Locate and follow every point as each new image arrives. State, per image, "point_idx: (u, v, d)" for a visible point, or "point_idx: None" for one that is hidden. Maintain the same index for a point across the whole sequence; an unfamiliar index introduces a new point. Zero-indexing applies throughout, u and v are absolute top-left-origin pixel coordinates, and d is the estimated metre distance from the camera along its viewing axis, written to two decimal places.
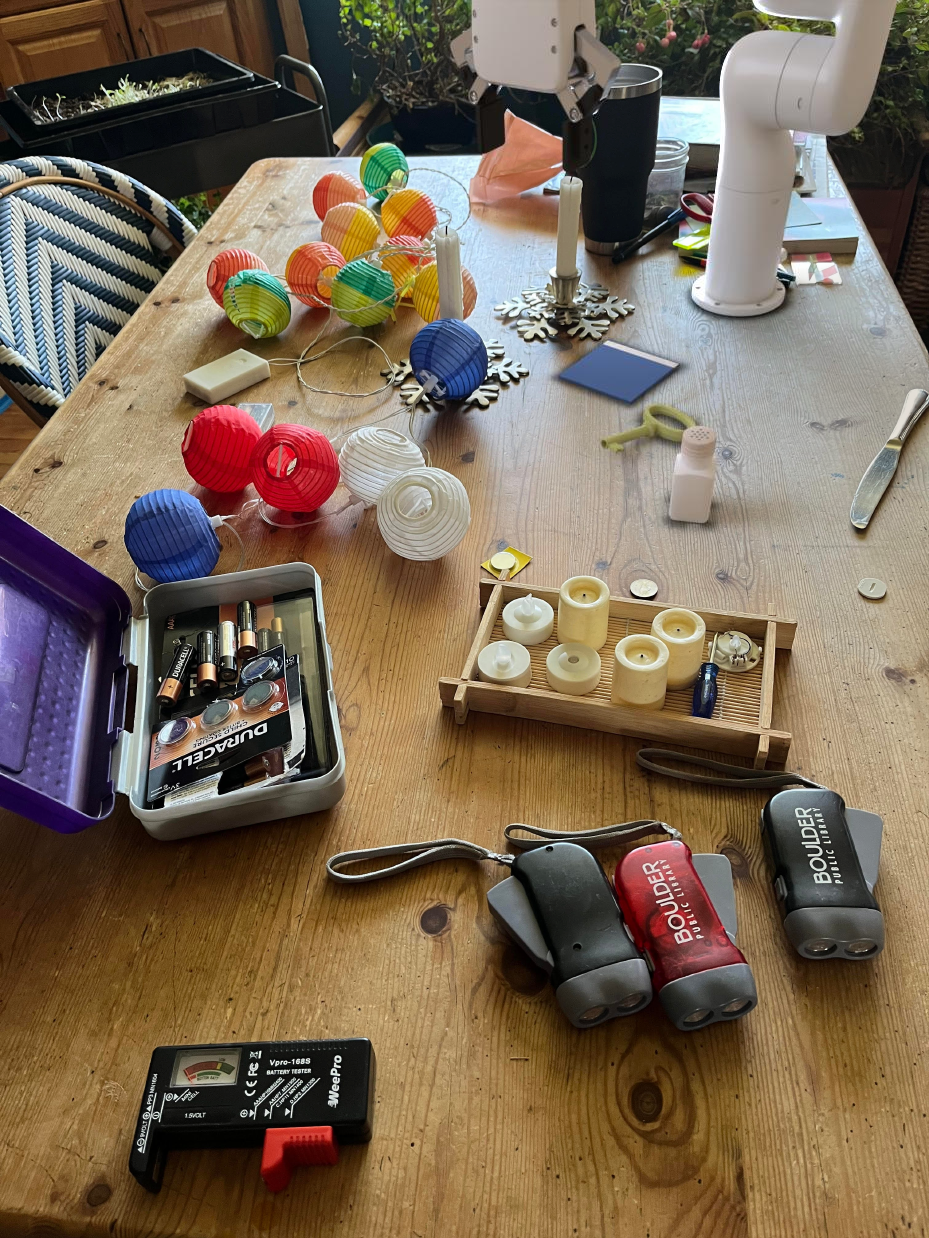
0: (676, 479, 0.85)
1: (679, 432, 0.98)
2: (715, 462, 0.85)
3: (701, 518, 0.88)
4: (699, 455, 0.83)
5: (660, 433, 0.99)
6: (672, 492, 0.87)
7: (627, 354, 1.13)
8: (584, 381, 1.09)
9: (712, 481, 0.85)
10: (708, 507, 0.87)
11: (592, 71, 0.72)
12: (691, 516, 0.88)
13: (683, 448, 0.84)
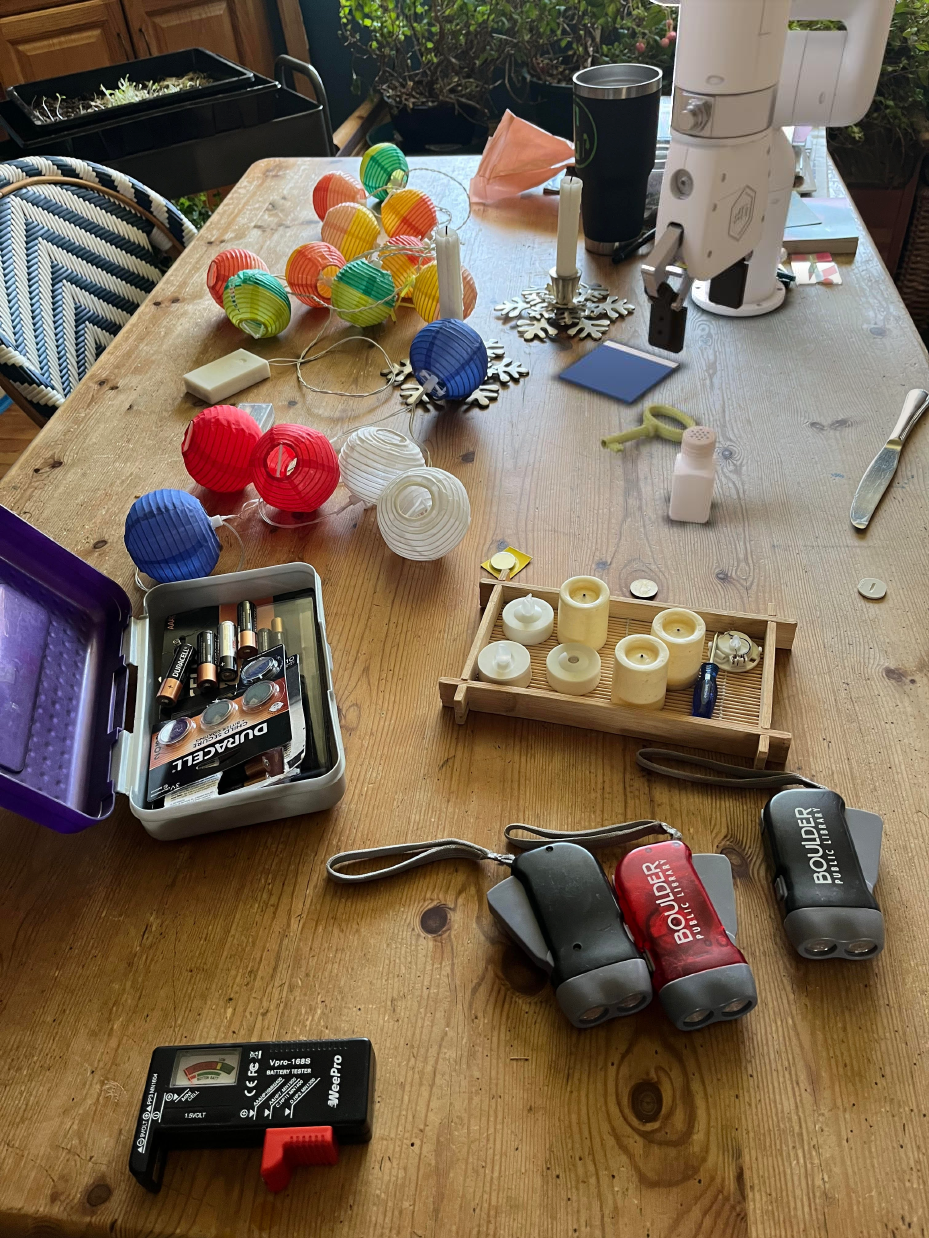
0: (676, 479, 0.85)
1: (679, 432, 0.98)
2: (715, 462, 0.85)
3: (701, 518, 0.88)
4: (699, 455, 0.83)
5: (660, 433, 0.99)
6: (672, 492, 0.87)
7: (627, 354, 1.13)
8: (584, 381, 1.09)
9: (712, 481, 0.85)
10: (708, 507, 0.87)
11: (693, 274, 0.68)
12: (691, 516, 0.88)
13: (683, 448, 0.84)
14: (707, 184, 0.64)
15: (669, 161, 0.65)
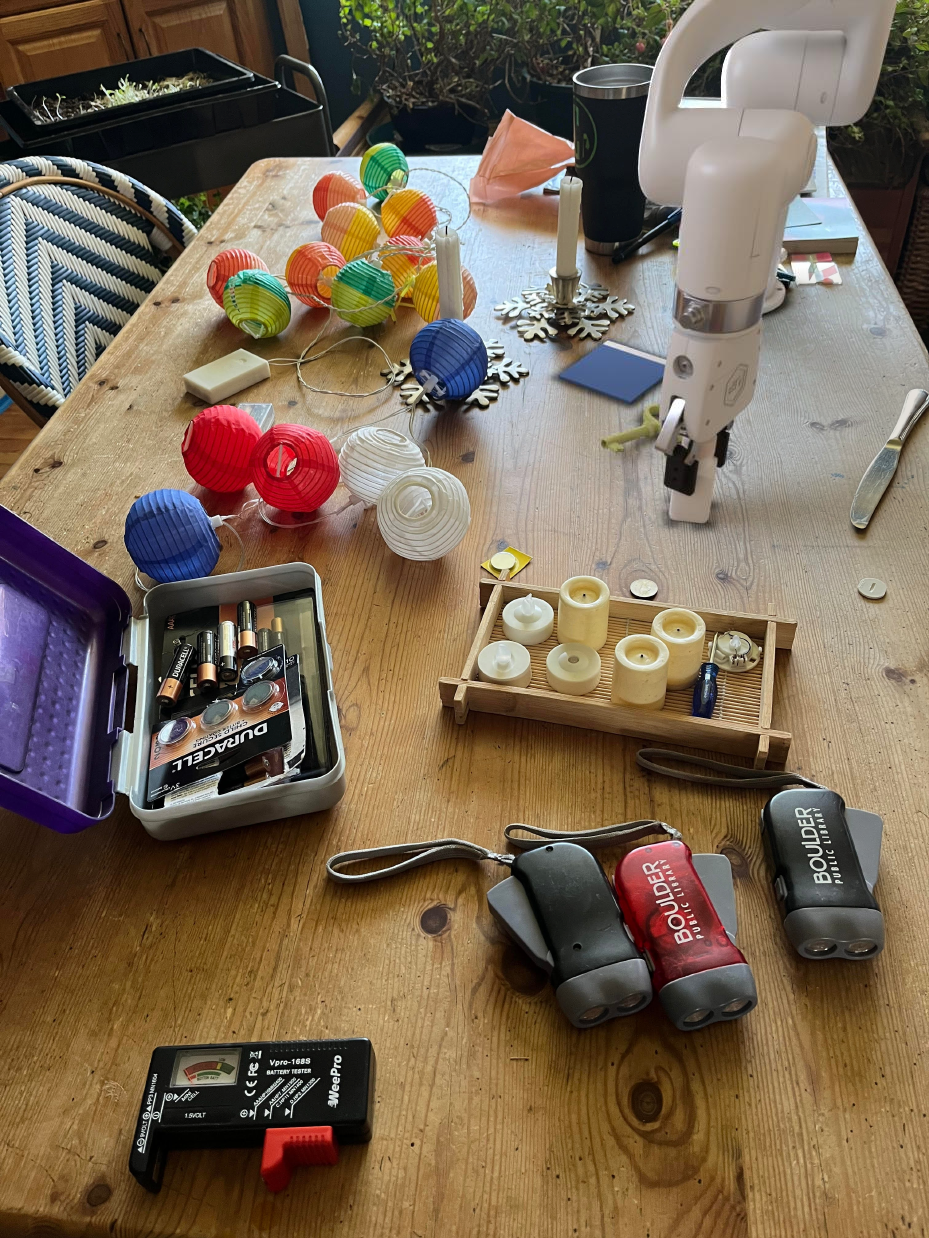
0: None
1: None
2: (715, 462, 0.85)
3: (701, 518, 0.88)
4: (699, 455, 0.83)
5: None
6: (672, 492, 0.87)
7: (627, 354, 1.13)
8: (584, 381, 1.09)
9: (712, 481, 0.85)
10: (708, 507, 0.87)
11: (693, 438, 0.78)
12: (691, 516, 0.88)
13: None
14: (705, 370, 0.73)
15: (672, 347, 0.75)
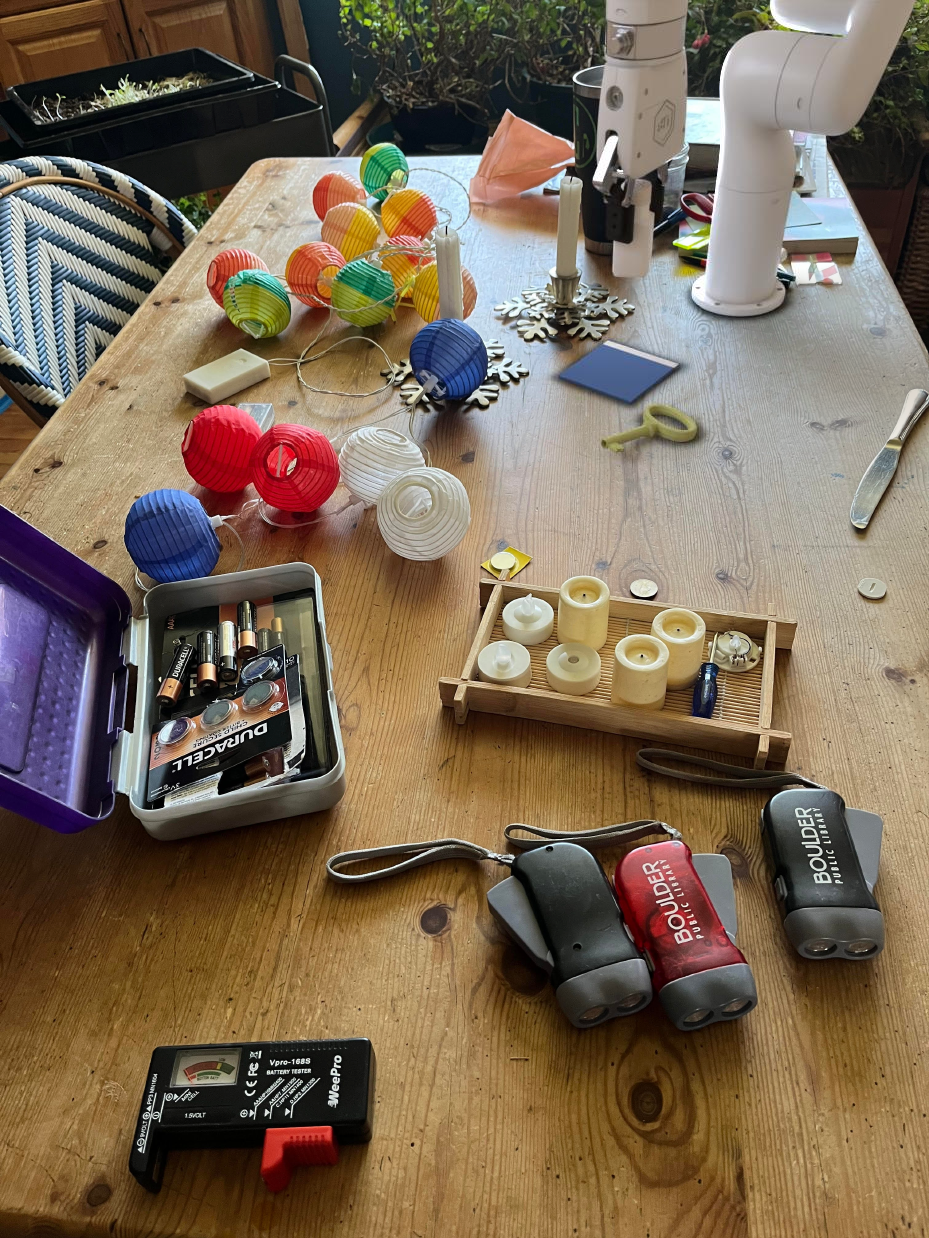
0: None
1: (679, 432, 0.98)
2: (652, 214, 0.94)
3: (641, 272, 0.97)
4: (636, 202, 0.92)
5: (660, 433, 0.99)
6: (614, 246, 0.96)
7: (627, 354, 1.13)
8: (584, 381, 1.09)
9: (649, 230, 0.94)
10: (647, 259, 0.96)
11: (627, 172, 0.87)
12: (632, 270, 0.97)
13: None
14: (633, 97, 0.82)
15: (604, 80, 0.83)
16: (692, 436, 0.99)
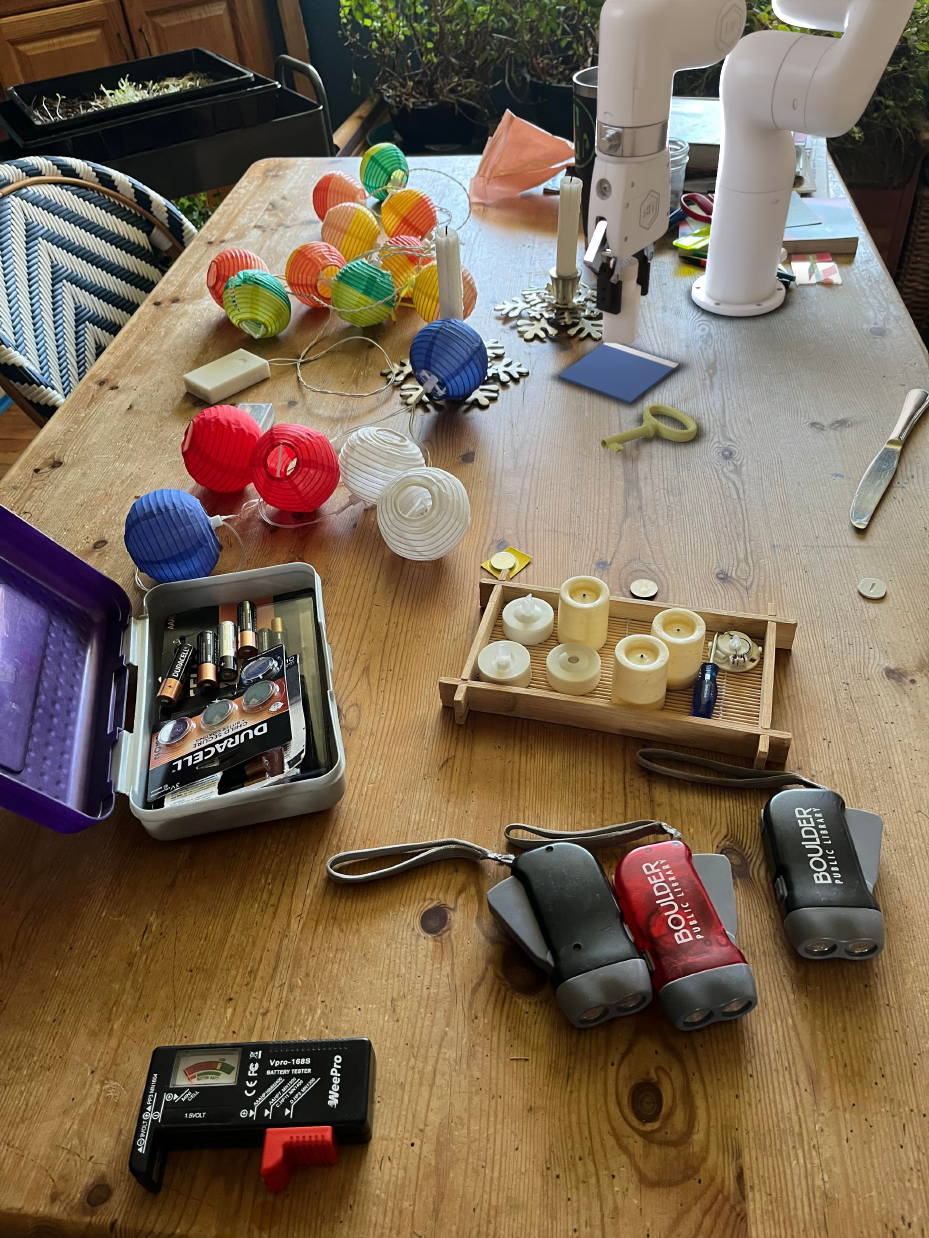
0: None
1: (679, 432, 0.98)
2: (638, 288, 1.02)
3: (628, 339, 1.05)
4: (623, 277, 1.00)
5: (660, 433, 0.99)
6: (603, 315, 1.04)
7: (627, 354, 1.13)
8: (584, 381, 1.09)
9: (635, 302, 1.02)
10: (633, 328, 1.04)
11: (615, 254, 0.95)
12: (620, 337, 1.05)
13: None
14: (621, 189, 0.90)
15: (595, 173, 0.91)
16: (692, 436, 0.99)
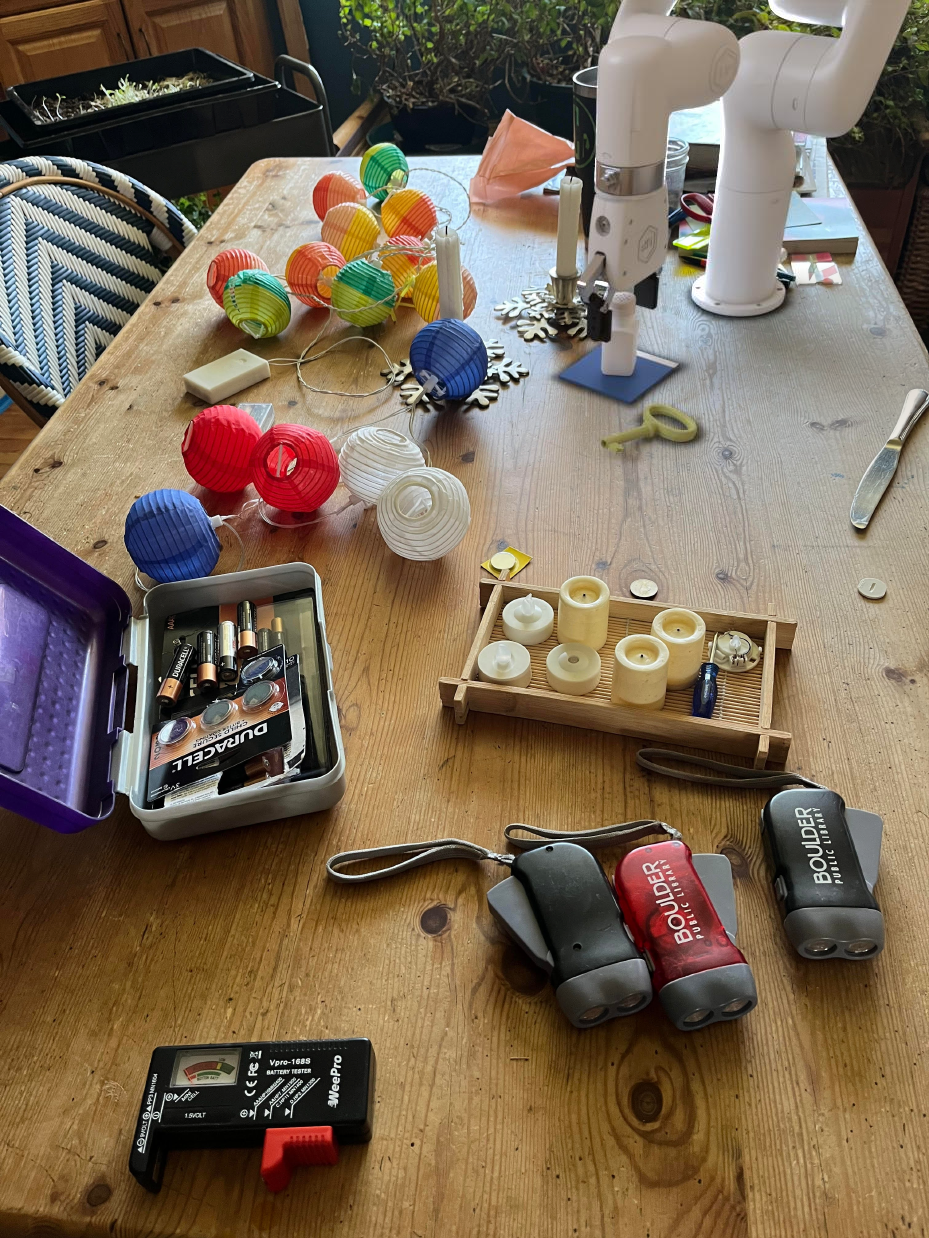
0: None
1: (679, 432, 0.98)
2: (636, 322, 1.06)
3: (626, 371, 1.08)
4: (622, 313, 1.03)
5: (660, 433, 0.99)
6: (602, 349, 1.07)
7: None
8: (584, 381, 1.09)
9: (633, 337, 1.05)
10: (632, 361, 1.07)
11: (614, 287, 0.98)
12: (618, 370, 1.08)
13: None
14: (619, 226, 0.93)
15: (594, 210, 0.94)
16: (692, 436, 0.99)
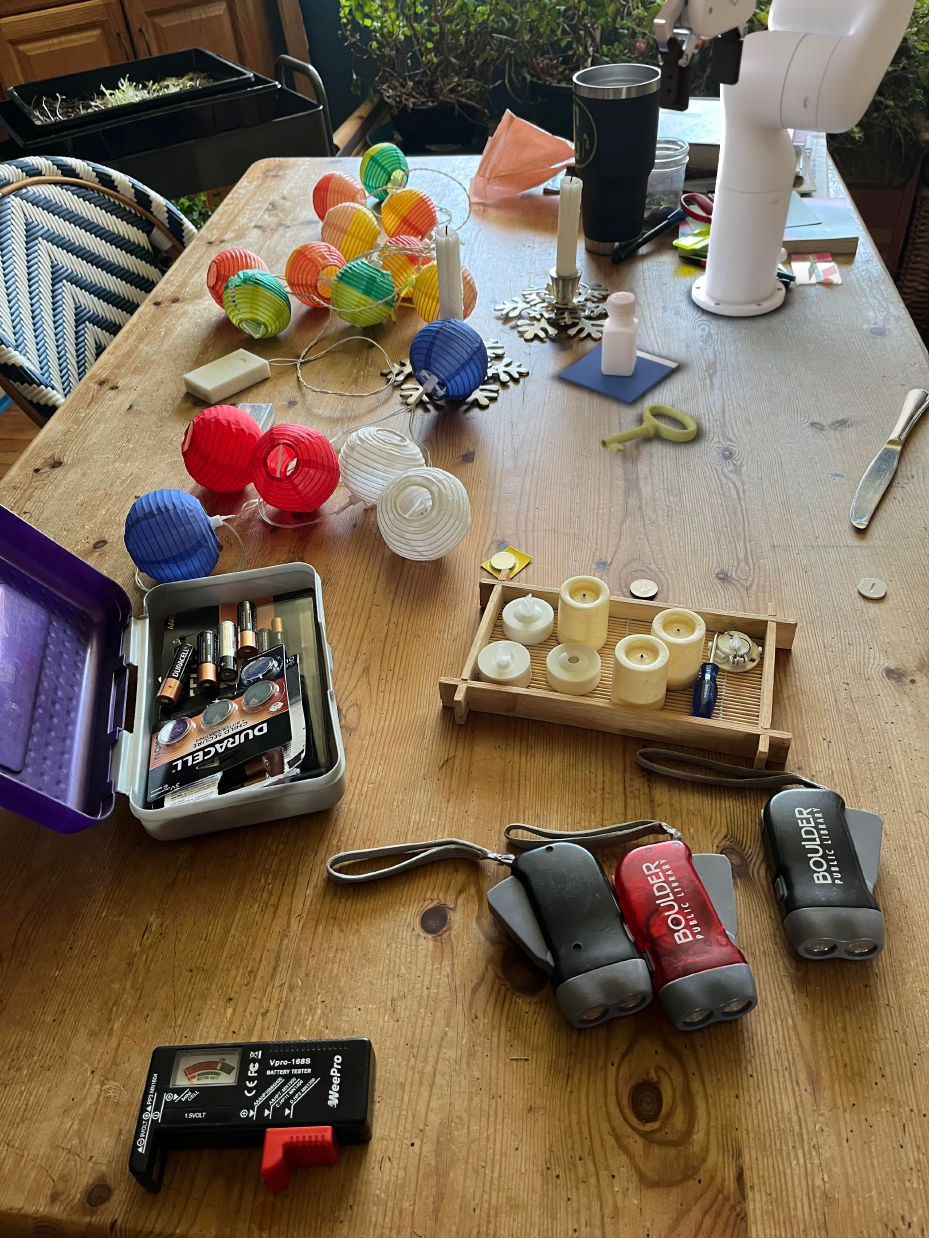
0: (605, 336, 1.06)
1: (679, 432, 0.98)
2: (636, 322, 1.06)
3: (626, 371, 1.08)
4: (622, 313, 1.03)
5: (660, 433, 0.99)
6: (602, 349, 1.07)
7: None
8: (584, 381, 1.09)
9: (633, 337, 1.05)
10: (632, 361, 1.07)
11: (697, 31, 0.82)
12: (618, 370, 1.08)
13: (609, 309, 1.04)
14: None
15: None
16: (692, 436, 0.99)
